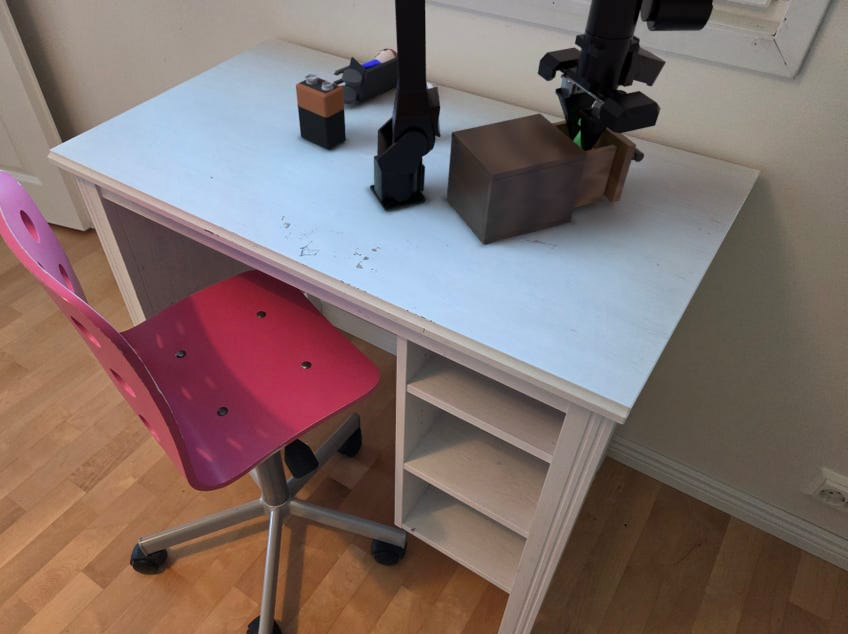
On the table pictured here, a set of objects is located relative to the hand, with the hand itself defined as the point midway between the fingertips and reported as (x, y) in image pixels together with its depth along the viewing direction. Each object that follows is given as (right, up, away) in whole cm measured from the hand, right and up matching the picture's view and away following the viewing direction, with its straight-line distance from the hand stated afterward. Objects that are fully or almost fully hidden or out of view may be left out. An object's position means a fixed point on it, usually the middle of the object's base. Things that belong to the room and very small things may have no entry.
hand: (580, 148), depth 90 cm
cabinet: (-10, -8, +3) cm, 13 cm away
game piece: (0, -1, +1) cm, 1 cm away
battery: (-37, +7, +18) cm, 42 cm away
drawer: (+1, -4, +5) cm, 6 cm away
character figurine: (-29, +19, +29) cm, 45 cm away
